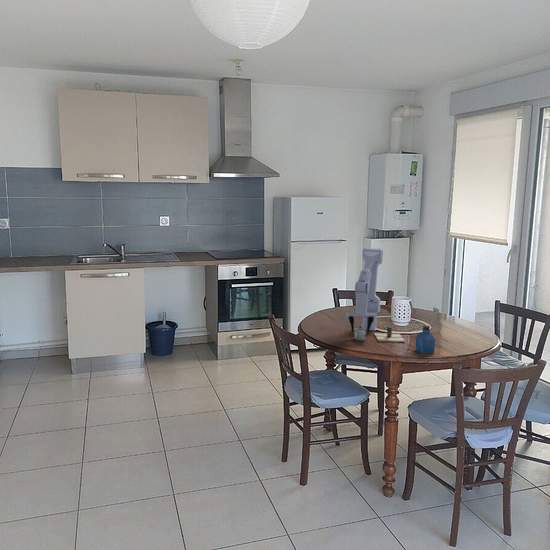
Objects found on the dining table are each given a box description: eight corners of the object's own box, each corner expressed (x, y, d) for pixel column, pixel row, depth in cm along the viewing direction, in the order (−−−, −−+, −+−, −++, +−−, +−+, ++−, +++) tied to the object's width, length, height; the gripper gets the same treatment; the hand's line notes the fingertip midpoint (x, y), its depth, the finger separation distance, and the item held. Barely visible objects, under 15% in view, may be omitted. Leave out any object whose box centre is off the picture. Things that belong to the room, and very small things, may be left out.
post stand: (374, 334, 277) (374, 323, 276) (399, 335, 277) (399, 324, 276) (378, 342, 264) (379, 330, 263) (404, 342, 264) (405, 330, 263)
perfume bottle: (422, 353, 247) (424, 328, 245) (415, 349, 253) (417, 325, 251) (434, 352, 249) (435, 327, 247) (426, 348, 255) (428, 324, 253)
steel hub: (353, 337, 272) (354, 327, 271) (364, 337, 272) (364, 327, 271) (355, 340, 267) (355, 330, 266) (366, 340, 267) (366, 330, 266)
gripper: (347, 306, 263) (346, 333, 265) (377, 307, 262) (375, 333, 265) (346, 303, 269) (345, 329, 272) (374, 304, 269) (373, 330, 271)
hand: (360, 331), depth 269 cm, fingers open, 7 cm apart
